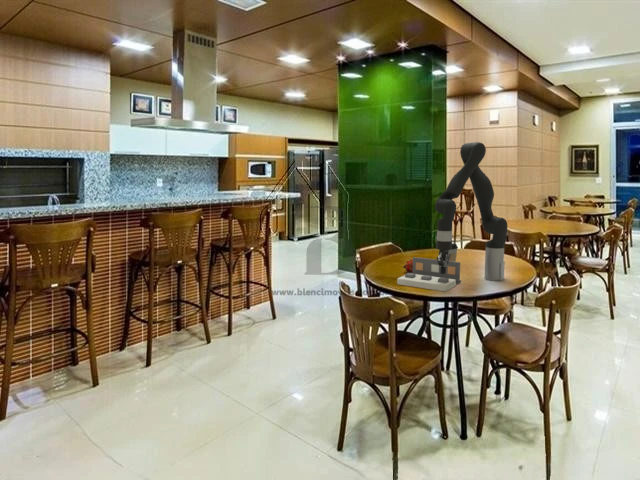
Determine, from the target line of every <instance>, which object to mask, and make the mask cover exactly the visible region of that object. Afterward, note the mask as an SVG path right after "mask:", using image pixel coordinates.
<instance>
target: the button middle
mask: <svg viewBox="0 0 640 480" xmlns="http://www.w3.org/2000/svg"><path fill="white" fill-rule="evenodd" d="M431 279H432V276H428V275H423V276H421V280H427V281H430V280H431Z"/></svg>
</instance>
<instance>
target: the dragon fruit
mask: <svg viewBox="0 0 640 480" xmlns="http://www.w3.org/2000/svg"><path fill="white" fill-rule="evenodd" d="M402 268H403V269H405V270H404V271H405V272H406V273H413V259H410V260H408V261H406V263H405V264H404V265H403V267H402Z"/></svg>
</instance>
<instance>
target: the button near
mask: <svg viewBox="0 0 640 480" xmlns="http://www.w3.org/2000/svg"><path fill="white" fill-rule="evenodd" d="M438 282H441V283H447V282H449V278H443V277H441V278H439V279H438Z"/></svg>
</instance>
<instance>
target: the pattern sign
mask: <svg viewBox="0 0 640 480" xmlns="http://www.w3.org/2000/svg"><path fill="white" fill-rule="evenodd" d="M412 260H413V272H412V273H413V274H418V275H428V276H433V277H440V278H441V277H443V278H449V279H455V280H456V285H459V284H460V283H462V280H461V279H460V278H461V261H460V262H459V261H456V262H453V261H449V262H448V264H447V266H446V273H445V274H441V273H440V270H441V266H439V265H438V262H437V259H433V258H424V257H414V256H413V257H412Z"/></svg>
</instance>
